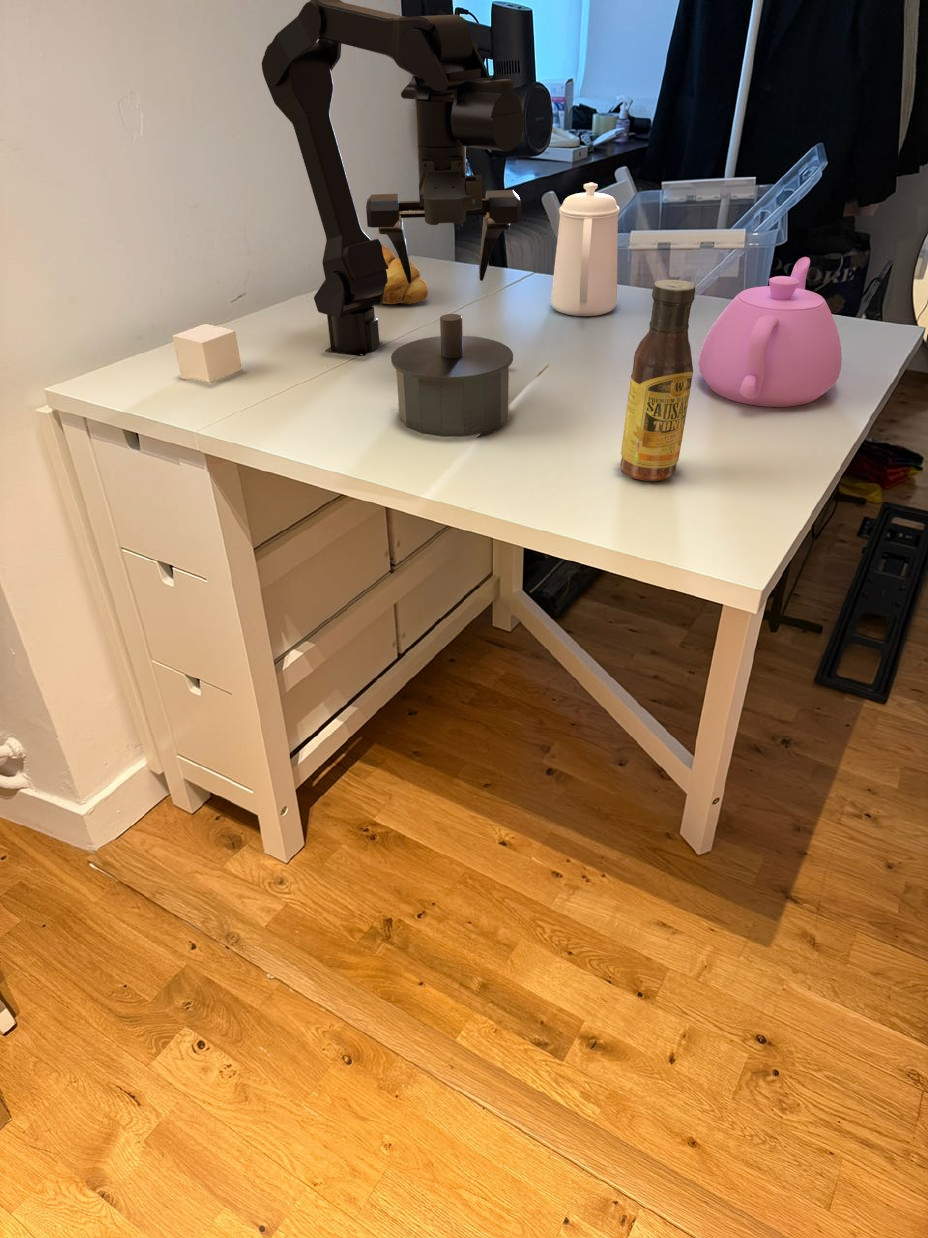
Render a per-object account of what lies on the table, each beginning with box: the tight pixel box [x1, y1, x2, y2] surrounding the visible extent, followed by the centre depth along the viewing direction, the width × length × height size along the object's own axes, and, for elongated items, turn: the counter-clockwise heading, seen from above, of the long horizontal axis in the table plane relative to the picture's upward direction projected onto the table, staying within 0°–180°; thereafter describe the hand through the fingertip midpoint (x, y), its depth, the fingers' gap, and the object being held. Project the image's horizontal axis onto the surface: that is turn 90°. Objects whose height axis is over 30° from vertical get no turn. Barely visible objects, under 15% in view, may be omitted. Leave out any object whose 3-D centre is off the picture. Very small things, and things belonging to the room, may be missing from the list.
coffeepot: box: [550, 181, 620, 317], centre depth 139 cm, size 11×25×19 cm, turn 172°
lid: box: [390, 313, 514, 381], centre depth 103 cm, size 15×15×6 cm
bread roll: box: [381, 244, 429, 305], centre depth 148 cm, size 13×10×8 cm
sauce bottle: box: [620, 279, 696, 482], centre depth 90 cm, size 7×6×20 cm
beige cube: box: [171, 323, 243, 384], centre depth 121 cm, size 6×6×6 cm
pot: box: [395, 366, 510, 439], centre depth 106 cm, size 13×13×8 cm
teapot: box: [697, 256, 843, 408], centre depth 112 cm, size 25×18×14 cm
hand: (445, 281), depth 112 cm, fingers open, 9 cm apart
